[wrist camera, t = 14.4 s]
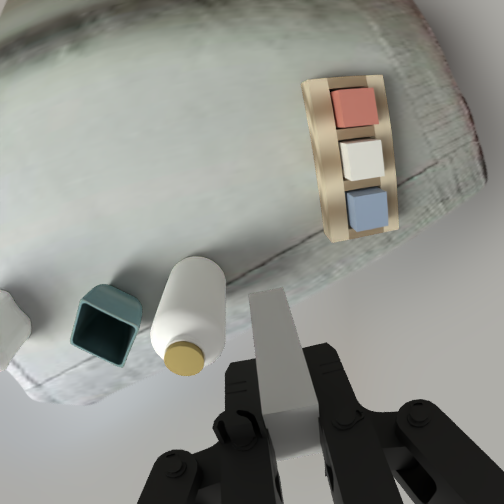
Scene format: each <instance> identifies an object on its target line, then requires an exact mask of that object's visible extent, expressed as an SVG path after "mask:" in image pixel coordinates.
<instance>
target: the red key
mask: <svg viewBox="0 0 504 504" xmlns="http://www.w3.org/2000/svg"><path fill="white" fill-rule="evenodd" d="M330 97H331V102H332V108H333V114H334V120H335V126H336V127H344V128H345V127H354V126H364V125H374V124H379V120H378V113H377V107H376V101H375V95H374V89H373V88H358V89H344V90H336V91H333V92H330Z"/></svg>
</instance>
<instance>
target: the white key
mask: <svg viewBox="0 0 504 504" xmlns="http://www.w3.org/2000/svg"><path fill="white" fill-rule="evenodd" d="M338 145H339V152H340V159H341V167H342V175H343V177H344V178H346V179H348V180H350V181H356V180H362V179H369V178H375V177H382V176H385V172H384V162H383V153H382V144H381V140H378V139H372V138H357V139H349V140H341V141H338Z"/></svg>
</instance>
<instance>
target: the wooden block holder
mask: <svg viewBox="0 0 504 504" xmlns="http://www.w3.org/2000/svg"><path fill="white" fill-rule="evenodd" d="M301 88H302V93H303V98H304V103H305V109H306V114H307V120H308V125H309V131H310V137H311V143H312V149H313V155H314V162H315V168H316V175H317V182H318V189H319V196H320V203H321V211H322V219H323V227H324V233H325V235H326V236H327V237H328V238H329V240H330V241H331V242H332V243H335V242H339V241H344V240H349V239H354V238H359V237H364V236H368V235H373V234H378V233H383V232H387V231H392V230H397V229H399V221H398V198H397V183H396V170H395V159H394V149H393V140H392V132H391V124H390V117H389V110H388V104H387V98H386V92H385V86H384V80H383V75H364V76H345V77H332V78H320V79H310V80H306V81H305V82H303V83H301ZM358 88H373V89H374V95H375V101H376V107H377V113H378V120H379V124H374V125H364V126H354V127H345V128H344V127H341V128H336V126H335V120H334V114H333V108H332V102H331V97H330V92H329V91H333V90H344V89H358ZM360 137H364V138H372V139H378V140H381V144H382V153H383V162H384V172H385V176H382V177H375V178H369V179H362V180H356V181H350V180H348V179H346V178H344V177H343V175H342V167H341V159H340V152H339V145H338V140H344V139H352V138H360ZM372 186H376V187H378V188H380V189H382V190H384V191H386V192H387V206H388V226H384V227H379V228H374V229H369V230H364V231H360V232H356V231H355V230H354V229H353V228H352V227H351V226H350V225H349V224H348V220H347V210H346V200H345V191H348V190H354V189H360V188H366V187H372Z"/></svg>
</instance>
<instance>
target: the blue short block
mask: <svg viewBox="0 0 504 504" xmlns="http://www.w3.org/2000/svg"><path fill="white" fill-rule="evenodd" d="M345 200H346V210H347V220H348V224H349V225H350V226H351V227H352V228H353V229H354V230H355V231H356V232H360V231H364V230H369V229H374V228H379V227H384V226H388V206H387V192H386V191H384V190H382V189H380V188H378V187H376V186H372V187H366V188H360V189H354V190H348V191H345Z"/></svg>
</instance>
